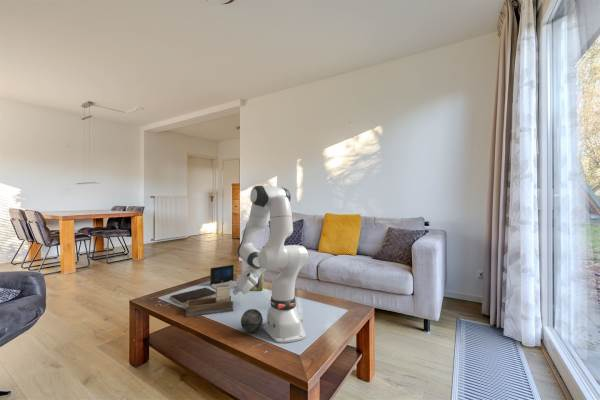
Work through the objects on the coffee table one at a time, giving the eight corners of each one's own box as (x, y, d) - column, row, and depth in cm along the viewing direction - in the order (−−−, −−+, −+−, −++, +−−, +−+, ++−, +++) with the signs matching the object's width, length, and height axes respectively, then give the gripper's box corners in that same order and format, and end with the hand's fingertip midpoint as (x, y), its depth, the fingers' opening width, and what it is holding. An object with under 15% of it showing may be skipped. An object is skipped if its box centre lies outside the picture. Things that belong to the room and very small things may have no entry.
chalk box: (262, 291, 182) (262, 269, 182) (248, 290, 182) (248, 268, 182) (264, 286, 191) (264, 265, 192) (251, 286, 192) (251, 265, 192)
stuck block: (229, 306, 152) (229, 288, 152) (216, 307, 149) (216, 289, 149) (228, 301, 158) (228, 284, 158) (215, 303, 156) (216, 285, 156)
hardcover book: (217, 296, 172) (217, 292, 172) (181, 306, 155) (181, 302, 155) (205, 290, 183) (205, 287, 183) (170, 299, 166) (170, 295, 166)
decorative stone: (238, 328, 128) (239, 307, 128) (259, 324, 132) (259, 304, 132) (243, 338, 119) (243, 315, 119) (265, 334, 123) (265, 312, 123)
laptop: (217, 291, 181) (218, 271, 181) (209, 286, 190) (210, 267, 191) (241, 285, 193) (242, 267, 193) (233, 281, 202) (233, 264, 203)
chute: (233, 311, 148) (233, 303, 148) (185, 317, 139) (185, 309, 139) (229, 300, 163) (230, 294, 163) (186, 305, 154) (186, 298, 154)
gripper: (244, 267, 169) (227, 284, 165) (250, 276, 150) (232, 295, 146) (251, 274, 170) (235, 291, 167) (258, 283, 151) (240, 303, 148)
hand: (233, 293), depth 156 cm, fingers closed
